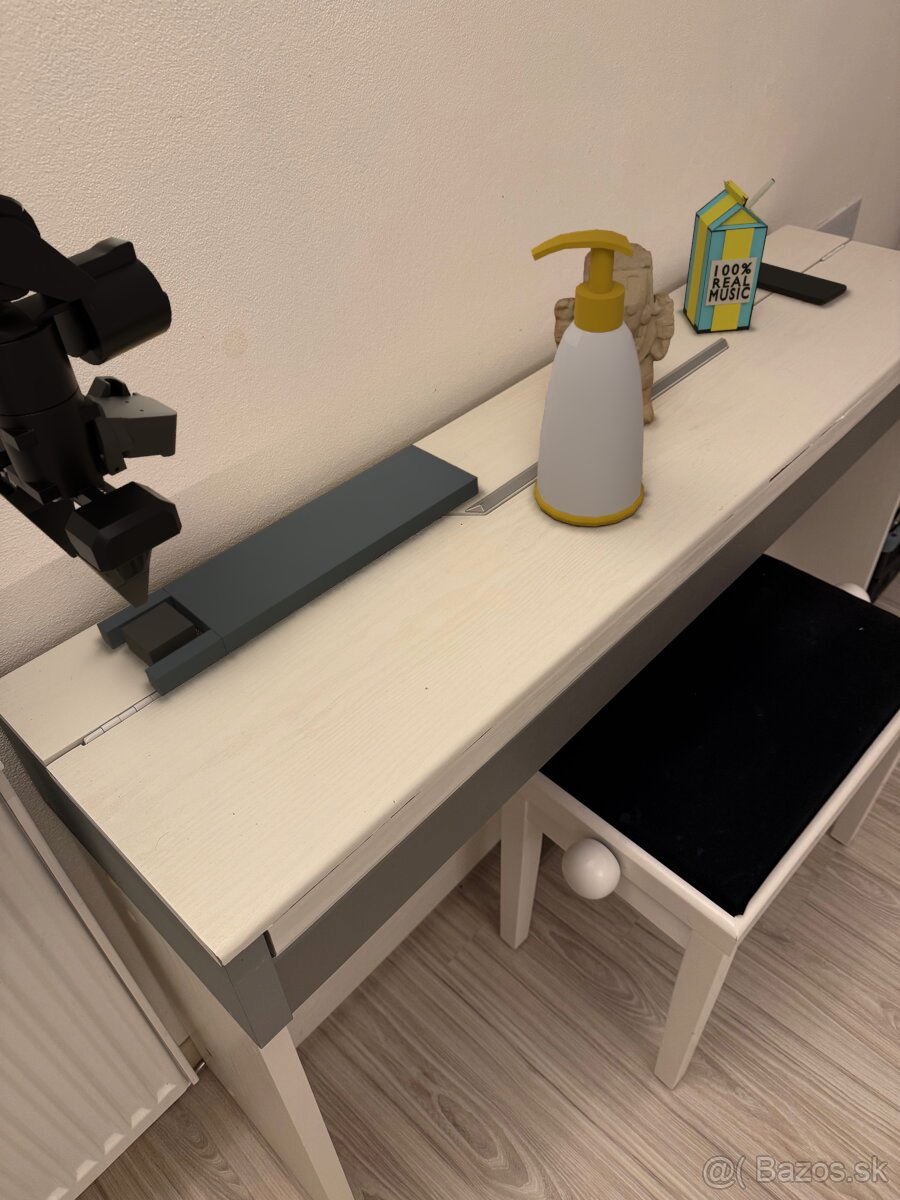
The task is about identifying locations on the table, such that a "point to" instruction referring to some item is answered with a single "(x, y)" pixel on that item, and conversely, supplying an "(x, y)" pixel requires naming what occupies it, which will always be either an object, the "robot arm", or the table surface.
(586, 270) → the figurine
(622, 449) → the soap bottle
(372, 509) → the grey rectangular block
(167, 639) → the black block
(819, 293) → the smartphone
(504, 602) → the table surface
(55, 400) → the robot arm
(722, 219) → the carton
